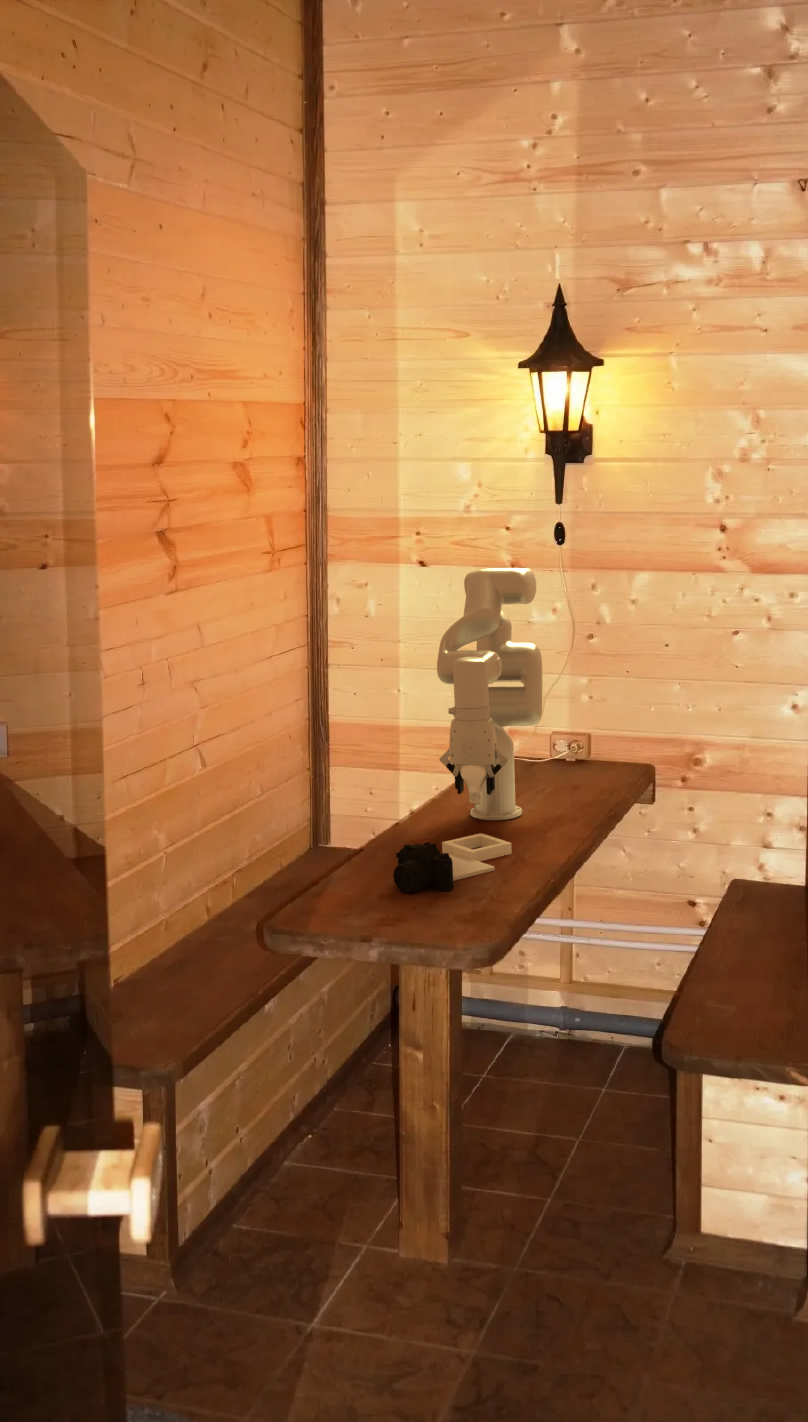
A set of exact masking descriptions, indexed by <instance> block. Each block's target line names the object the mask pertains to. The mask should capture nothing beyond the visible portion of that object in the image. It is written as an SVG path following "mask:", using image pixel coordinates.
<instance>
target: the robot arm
mask: <svg viewBox="0 0 808 1422" xmlns="http://www.w3.org/2000/svg"><path fill="white" fill-rule="evenodd" d="M465 575H466V576H464V580H463V581H464V582H463V588H464V592H465V593H464V594H465V602H464V607H463V608H464V609H463V616H462V617H460V618H459V619H457V620H456V621H455V622H454V623H452V624H451V625H450V627H449V628H447V630H446V631H445V632H444V634H443V636H442V637H441V640H440V642H439V648H438V653H437V654H438V655H437V660H436V661H437V662H436V673H437V676H438V678H439V680H440V682H442V683H443V684H446V685H453V695H454V696H453V697H454V698H453V699H454V700H453V701H454V705H453V707H449V708H448V712H447V713H448V714H449V715H453V719H451V722H450V728H449V742H448V744H449V746H448V749H447V750H446V751H445V753H444V754H443V755H442V756H441V757H439V762H441V764H442V765H444V766H445V767H446V769H447V770H449V772H450V773H451V774H452V775H453V777H454V788H455V790H456V791H457V794H458V795H460V794H462V793H463V792H464V790H465V788H464V787H465V786H464V785H465V784H464V783H465V781H464V780H463V779H462V777H461V774H460V768H461V766H467V765H474V766H485V769H486V771H487V773H488V776H487V778H486V780H485V781H484V783H483V788H482V791H481V799H482V802H481V803H479V804H477V805H474V807H473V808H471V809H470V812H469V813H470V816H471V817H472V818H474V819H478V820H483V821H505V820H511V819H516V818H518V817H520V816H522V813H523V809H522V807H520V806H518V805H517V804H516V782H515V781H516V780H515V779H516V777H515V774H516V773H515V749H514V748H515V747H514V746H515V745H514V742H513V738H511V736H510V734H509V733H508V732H507V731H506V730H505V729H504V727H531V726H536V725H538V724H539V723H540V721H541V719H542V715H543V657H542V652H541V650H540V648H539V646H538V645H536V644H534V643H532V642H513V641H512V627H513V626H512V621H511V620H510V618H509V617H508V615H507V614H506V613H505V612H504V611H503V610H502V606H503V605H528V604H531V603H532V602H533V601H534V599H535V596H536V593H537V579H536V575H535V574H534V572H533V571H532V570H531V569H530V568H525V567H524V568H522V567H513V568H512V567H509V568H508V567H507V568H506V567H505V568H504V567H503V568H500V567H499V568H498V567H497V568H484V569H477V570H472V571H471V572H468V573H467V574H465ZM474 642H476V649H475V650H473V649H472V650H463V649H462V650H459V649H460V648H463V647H464V646H466V645H468V644H471V643H472V644H473V643H474ZM511 682H512V683H521V684H522V685H523V686H489V685H492V684H493V683H511Z"/></svg>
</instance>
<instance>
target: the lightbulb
mask: <svg viewBox="0 0 808 1422" xmlns="http://www.w3.org/2000/svg"><path fill="white" fill-rule="evenodd" d="M460 774H461V777H462V779H463V781H464V783H465V784H466V787H467V790H468V793H469V795H468V796H469V798H468V799H469V802H470V803H471V804H472V805H474V806H475V805H477V804H479V803H481V802H482V799H481V791H482V788H483V783H484V781H485V780H486V778H487V776H488V773H487V771H486V769H485V766H474V765H467V766H461V768H460Z"/></svg>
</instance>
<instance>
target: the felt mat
mask: <svg viewBox="0 0 808 1422" xmlns="http://www.w3.org/2000/svg"><path fill="white" fill-rule="evenodd" d="M449 857H451V858H452V862H453V882H454V881H458V880H461V879H462V880H463V879H467V878H469V877H474V876H477V875H481V874H482V875H483V874H486V873H489V872H495V871H496V868H495V866H493V865H491V864H488V863H485V862H483V861H480V862H479V861H477V860H474V859H473V860H471V859H468V858H465V857H462V856H459V855H456V854H451V855H449Z"/></svg>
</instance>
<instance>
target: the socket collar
mask: <svg viewBox="0 0 808 1422" xmlns="http://www.w3.org/2000/svg"><path fill="white" fill-rule="evenodd" d="M441 846H442V847H441V850H442V853H441V854H443V853H448V854H449V855H451V854H456V855H459V856H462V857H465V858H468V859H471V860H473V859H474V860H477V861H479V862H484V861H487V860H491V859H496V858H500V857H504V855H505V856H508V855H511V854H513V852H512V842H509V841H507V840H504V839H501V838H497V837H494V836H492V835H488V834H485V833H483V832H481V833H477V834H476V833H475V834H473V835H472V834H471V835H468V836H463V837H460V838H454V839H450V840H445V841H441Z"/></svg>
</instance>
